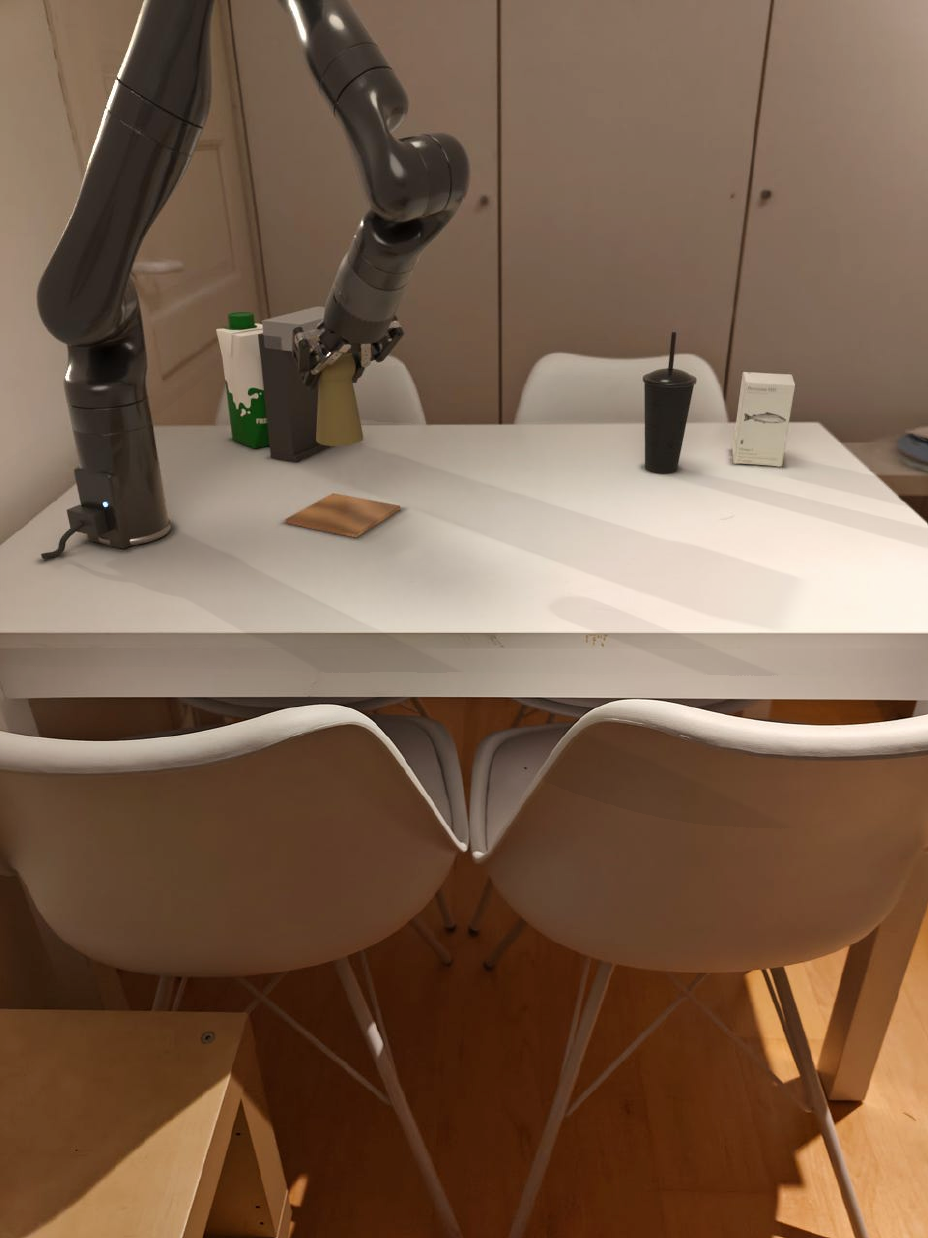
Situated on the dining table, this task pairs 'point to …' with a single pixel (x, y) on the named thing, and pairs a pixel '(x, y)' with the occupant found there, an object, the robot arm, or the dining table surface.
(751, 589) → the dining table surface
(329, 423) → the pepper shaker
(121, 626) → the dining table surface
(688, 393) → the drinking cup
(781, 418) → the white packaging box
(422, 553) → the dining table surface
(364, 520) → the coaster
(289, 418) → the coffee machine
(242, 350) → the milk carton
